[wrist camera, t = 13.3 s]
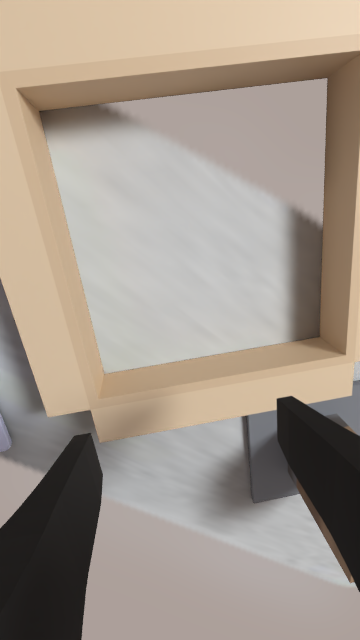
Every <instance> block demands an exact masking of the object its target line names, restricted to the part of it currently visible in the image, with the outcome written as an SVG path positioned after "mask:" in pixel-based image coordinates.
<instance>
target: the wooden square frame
mask: <svg viewBox="0 0 360 640" xmlns="http://www.w3.org/2000/svg"><path fill="white" fill-rule="evenodd" d="M322 78H328V83H327V84H328V85H327V116H326V148H325V180H324V212H323V243H322V275H321V307H320V337H316V338H311V339H305V340H299V341H293V342H287V343H282V344H276V345H270V346H264V347H259V348H253V349H247V350H241V351H236V352H230V353H224V354H218V355H212V356H207V357H201V358H195V359H189V360H184V361H178V362H172V363H166V364H160V365H155V366H149V367H143V368H137V369H132V370H126V371H120V372H114V373H109V374H104V371H103V367H102V363H101V359H100V355H99V351H98V347H97V343H96V339H95V335H94V330H93V326H92V322H91V318H90V314H89V310H88V306H87V302H86V298H85V294H84V290H83V286H82V282H81V278H80V274H79V270H78V266H77V262H76V258H75V254H74V250H73V246H72V242H71V238H70V234H69V230H68V226H67V222H66V218H65V214H64V210H63V206H62V202H61V198H60V194H59V190H58V186H57V182H56V178H55V174H54V170H53V166H52V162H51V158H50V153H49V149H48V145H47V141H46V137H45V133H44V129H43V125H42V121H41V117H40V113H39V111H44V110H53V109H61V108H70V107H79V106H87V105H96V104H105V103H114V102H121V101H131V100H140V99H148V98H157V97H165V96H174V95H183V94H191V93H200V92H209V91H218V90H226V89H235V88H244V87H252V86H261V85H270V84H279V83H287V82H296V81H304V80H314V79H322ZM0 278H1V281H2V284H3V287H4V290H5V293H6V296H7V299H8V302H9V305H10V308H11V311H12V313H13V316H14V319H15V322H16V325H17V328H18V331H19V334H20V337H21V340H22V343H23V346H24V349H25V352H26V354H27V357H28V360H29V363H30V366H31V369H32V372H33V375H34V378H35V381H36V384H37V387H38V390H39V393H40V395H41V398H42V401H43V404H44V407H45V410H46V413H47V416H48V417H53V416H59V415H64V414H70V413H75V412H81V411H87V410H91V413H92V417H93V420H94V424H95V428H96V431H97V435H98V438H99V442H100V443H102V442H108V441H113V440H118V439H123V438H129V437H134V436H139V435H145V434H150V433H155V432H161V431H166V430H171V429H177V428H182V427H187V426H193V425H198V424H203V423H209V422H214V421H219V420H225V419H230V418H235V417H241V416H246V415H251V414H257V413H262V412H267V411H273V410H277V398H282V397H288V396H293V397H295V398H296V399H298V400H300V401H301V402H303V403H304V404H310V403H315V402H320V401H326V400H331V399H336V398H342V397H347V396H352V387H353V374H354V362H358V361H360V0H0Z"/></svg>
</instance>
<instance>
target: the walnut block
mask: <svg viewBox="0 0 360 640" xmlns="http://www.w3.org/2000/svg"><path fill="white" fill-rule="evenodd" d="M325 417H327V418H329V419H330V420H332V421H334V422H336V423H337V424H339V425H341V426H342V427H344V428H346V429H348V430H350V431H351V432H353V433H355V432H354V431H353V430H352V429H351V428H350V427H349V426H348V425H347V424H346V422H345V421H344V420H343V419H342V418H341V417H340V416H339V415H338V414H337V413H336V414H331V415H326V416H325ZM355 434H356V433H355ZM288 473H289V475H290V477H291V479H292V480H293V482H294V484H295V486H296V487H297V489H298V491H299V493H300V495H301V496H302V498H303V500H304V502H305V503H306V505H307V507H308V509H309V511H310V512H311V514H312V516H313V518H314V519H315V521H316V523H317V525H318V527H319V528H320V530H321V532H322V534H323V535H324V537H325V539H326V541H327V543H328V544H329V546H330V548H331V550H332V551H333V553H334V555H335V557H336V559H337V560H338V562H339V564H340V566H341V567H342V569H343V571H344V573H345V575H346V576H347V578H348V580H349V582H350V583H352V582H354V580H353V578H352V575H351V573H350V571H349V569H348V567H347V565H346V563H345V561H344V559H343V557H342V555H341V553H340V551H339V549H338V547H337V545H336V543H335V541H334V539H333V537H332V536H331V534H330V532H329V530H328V529H327V527H326V525H325V523H324V522H323V520H322V518H321V517H320V515H319V513H318V512H317V510H316V509H315V507H314V505H313V504H312V502H311V501H310V499H309V497H308V496H307V494H306V492H305V491H304V489H303V488H302V486H301V484H300V483H299V481H298V479H297V478H296V476H295V474H294V473H293V471H292V470H291V468H290V466H289V464H288Z"/></svg>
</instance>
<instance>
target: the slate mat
mask: <svg viewBox="0 0 360 640" xmlns="http://www.w3.org/2000/svg"><path fill="white" fill-rule="evenodd" d="M306 405H308V406H309V407H311V408H312V409H314V410H316V411H317V412H319V413H321V414H322V415H324V416H326V415H331V414H336V413H337V414H338V415H339V416H340V417H341V418H342V419H343V420H344V421H345V422H346V424H347V425H348V426H349V427H350V428H351V429H352V430H353V431H354V432H355V433H356V434H357V435H359V436H360V380H359V381H354V382H353V387H352V396H347V397H342V398H336V399H331V400H326V401H320V402H315V403H310V404H306ZM247 429H248V444H249V459H250V474H251V489H252V499H253V502H254V503H258V502H263V501H268V500H273V499H277V498H282V497H287V496H292V495H297V494H300V493H299V491H298V489H297V487H296V486H295V484H294V482H293V480H292V479H291V477H290V475H289V473H288V462H287V460H286V458H285V456H284V454H283V452H282V449H281V447H280V445H279V443H278V440H277V410H273V411H267V412H262V413H257V414H251V415H247Z"/></svg>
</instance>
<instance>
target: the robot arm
mask: <svg viewBox="0 0 360 640" xmlns="http://www.w3.org/2000/svg"><path fill="white" fill-rule="evenodd" d="M277 440H278V443H279V445H280V447H281V449H282V452H283V454H284V456H285V458H286V460H287V462H288V464H289V466H290V468H291V470H292V471H293V473H294V474H295V476H296V478H297V479H298V481H299V483H300V484H301V486H302V488H303V489H304V491H305V492H306V494H307V496H308V497H309V499H310V501H311V502H312V504H313V505H314V507H315V509H316V510H317V512H318V513H319V515H320V517H321V518H322V520H323V522H324V523H325V525H326V527H327V529H328V530H329V532H330V534H331V536H332V537H333V539H334V541H335V543H336V545H337V547H338V549H339V551H340V553H341V555H342V557H343V559H344V561H345V563H346V565H347V567H348V569H349V571H350V573H351V575H352V578H353V580H354V582H355V584H356V586H357V588H358V590H359V592H360V436H359V435H357V434H355V433H353V432H351V431H350V430H348V429H346V428H344V427H342V426H341V425H339V424H337V423H336V422H334V421H332V420H330V419H329V418H327V417H325V416H324V415H322V414H321V413H319V412H317V411H316V410H314V409H312V408H311V407H309V406H308V405H306V404H304V403H303V402H301V401H300V400H298V399H296V398H295V397H293V396H288V397H282V398H277ZM11 444H12V441H11V438H10V436H9V433H8V431H7V428H6V426H5V423H4V421H3V418H2V416H1V413H0V452H2V451H6V450H8V449H9V448H10V446H11ZM102 479H103V474H102V470H101V467H100V463H99V460H98V456H97V453H96V449H95V446H94V442H93V439H92V436H91V433H88V434H83V435H77V436H74V437H73V439H72V440H71V441H70V443H69V444H68V445H67V447H66V448H65V449H64V451H63V452H62V453H61V455H60V456H59V458H58V459H57V460H56V462H55V463H54V464H53V466H52V467H51V468H50V470H49V471H48V472H47V474H46V475H45V476H44V478H43V479H42V480H41V482H40V483H39V484H38V486H37V487H36V488H35V489H34V491H33V492H32V493H31V494H30V495H29V497H28V498H27V499H26V500H25V501H24V503H23V504H22V505H21V506H20V507H19V509H18V510H17V511H16V512H15V513H14V514H13V515H12V517H11V518H10V519H9V520H8V521H7V522H6V523H5V524H4V525H3V526H2V527H1V528H0V640H81V637H82V625H83V615H84V605H85V594H86V586H87V578H88V572H89V566H90V561H91V555H92V550H93V545H94V539H95V534H96V528H97V523H98V517H99V512H100V506H101V496H102Z"/></svg>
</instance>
